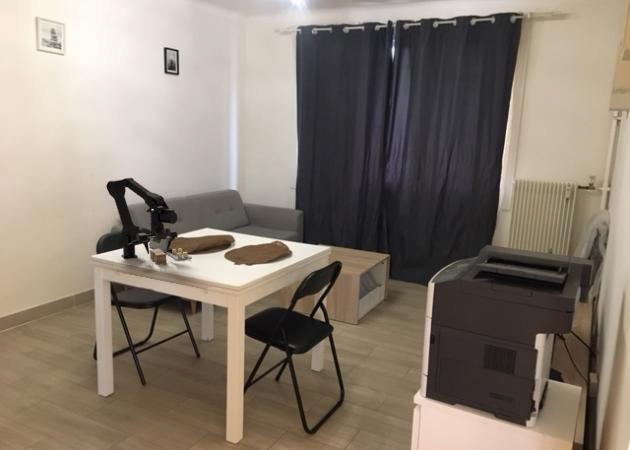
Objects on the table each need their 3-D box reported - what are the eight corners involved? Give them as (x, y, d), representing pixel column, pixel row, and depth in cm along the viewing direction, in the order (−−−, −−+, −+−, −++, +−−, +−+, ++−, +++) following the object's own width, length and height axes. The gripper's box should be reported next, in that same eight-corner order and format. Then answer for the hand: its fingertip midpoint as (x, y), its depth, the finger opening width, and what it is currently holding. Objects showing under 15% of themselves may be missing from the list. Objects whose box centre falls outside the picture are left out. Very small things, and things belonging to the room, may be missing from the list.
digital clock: (148, 247, 276) (147, 228, 274) (164, 245, 281) (163, 226, 279) (157, 253, 263) (156, 234, 261) (174, 251, 268) (174, 232, 266)
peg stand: (168, 254, 261) (168, 249, 261) (183, 253, 266) (183, 247, 265) (176, 260, 251) (176, 254, 251) (191, 258, 256) (191, 252, 255)
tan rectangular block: (150, 259, 253) (149, 249, 252) (159, 258, 256) (158, 248, 255) (157, 265, 243) (156, 255, 242) (166, 264, 246) (166, 254, 245)
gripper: (141, 226, 234) (143, 259, 237) (181, 223, 244) (181, 254, 247) (135, 222, 243) (136, 253, 246) (173, 218, 253) (174, 249, 256)
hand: (157, 252), depth 249 cm, fingers open, 9 cm apart
